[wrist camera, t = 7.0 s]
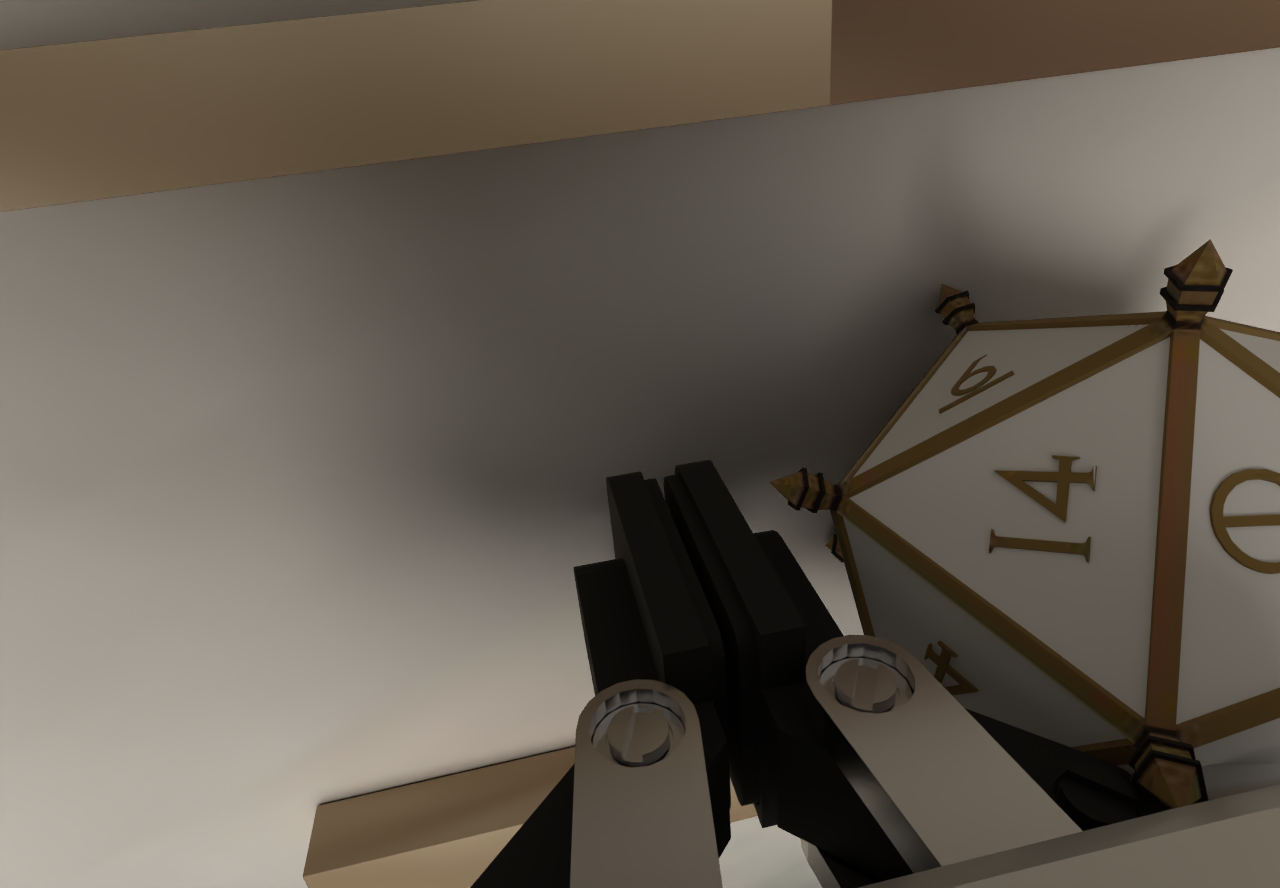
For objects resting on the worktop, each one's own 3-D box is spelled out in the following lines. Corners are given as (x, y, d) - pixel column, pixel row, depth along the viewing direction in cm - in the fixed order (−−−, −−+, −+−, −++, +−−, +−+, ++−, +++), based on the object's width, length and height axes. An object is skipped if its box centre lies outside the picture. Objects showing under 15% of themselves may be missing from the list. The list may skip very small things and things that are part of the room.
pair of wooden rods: (-37, 60, 9) (-125, 63, 7) (1939, -148, 12) (2112, -170, 11) (338, 851, 16) (326, 923, 15) (1518, 570, 20) (1592, 607, 18)
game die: (775, 383, 17) (540, 561, 8) (1185, 126, 13) (1575, -56, 4) (991, 716, 17) (983, 1244, 8) (1472, 567, 13) (2473, 1318, 4)
